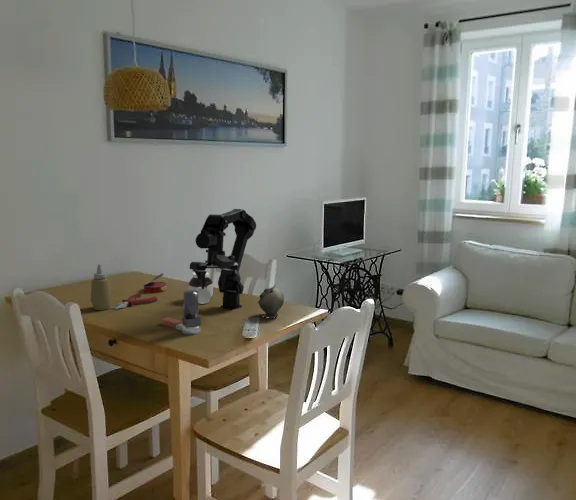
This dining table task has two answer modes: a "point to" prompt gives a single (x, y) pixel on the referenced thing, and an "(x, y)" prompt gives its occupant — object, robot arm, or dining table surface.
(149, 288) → the canned food
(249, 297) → the dining table surface
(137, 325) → the dining table surface
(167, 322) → the ratchet
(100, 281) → the squeeze bottle
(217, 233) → the robot arm
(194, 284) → the spread jar
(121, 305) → the pliers
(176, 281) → the dining table surface
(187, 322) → the socket
